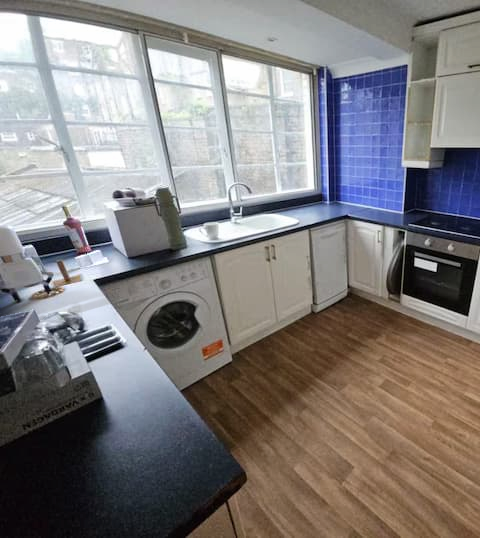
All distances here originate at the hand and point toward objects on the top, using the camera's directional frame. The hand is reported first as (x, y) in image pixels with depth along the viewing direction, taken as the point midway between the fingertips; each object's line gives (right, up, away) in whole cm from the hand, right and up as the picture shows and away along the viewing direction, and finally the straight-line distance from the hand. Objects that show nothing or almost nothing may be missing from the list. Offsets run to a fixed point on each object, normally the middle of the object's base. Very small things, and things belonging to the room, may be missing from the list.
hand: (34, 297), depth 120 cm
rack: (0, +5, +15) cm, 16 cm away
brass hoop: (+3, +1, +3) cm, 4 cm away
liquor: (-30, +21, +54) cm, 65 cm away
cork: (-14, +4, +13) cm, 19 cm away
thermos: (+23, +25, +58) cm, 68 cm away
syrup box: (-27, +9, +26) cm, 38 cm away
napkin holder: (-11, +14, +37) cm, 42 cm away
